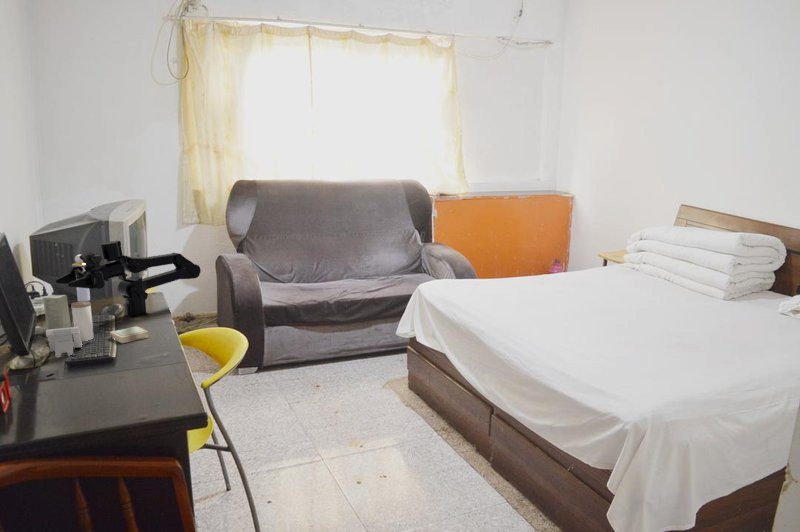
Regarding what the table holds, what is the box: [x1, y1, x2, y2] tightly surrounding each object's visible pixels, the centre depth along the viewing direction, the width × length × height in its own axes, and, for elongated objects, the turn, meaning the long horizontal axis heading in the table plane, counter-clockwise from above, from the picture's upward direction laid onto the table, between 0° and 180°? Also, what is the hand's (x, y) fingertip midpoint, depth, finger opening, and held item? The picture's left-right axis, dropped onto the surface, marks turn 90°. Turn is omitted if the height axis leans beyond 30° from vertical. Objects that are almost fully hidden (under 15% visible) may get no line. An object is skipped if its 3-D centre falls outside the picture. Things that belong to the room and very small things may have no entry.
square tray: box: [109, 326, 150, 344], centre depth 197 cm, size 9×9×2 cm
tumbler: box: [70, 300, 95, 341], centre depth 191 cm, size 6×6×13 cm
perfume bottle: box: [71, 254, 91, 302], centre depth 243 cm, size 6×6×20 cm
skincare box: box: [42, 294, 72, 330], centre depth 205 cm, size 6×4×12 cm
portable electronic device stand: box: [45, 326, 84, 358], centre depth 181 cm, size 9×8×8 cm
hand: (61, 283), depth 202 cm, fingers open, 9 cm apart
